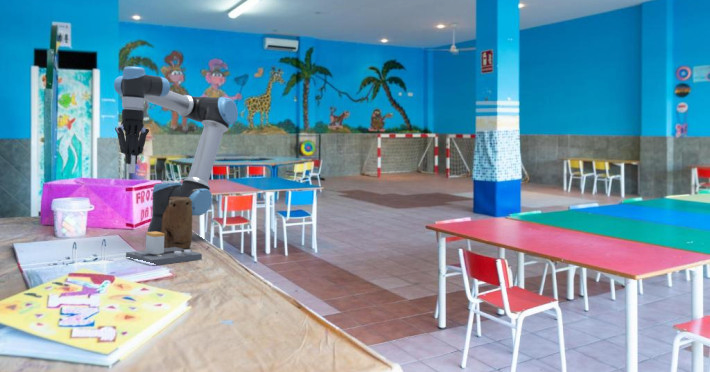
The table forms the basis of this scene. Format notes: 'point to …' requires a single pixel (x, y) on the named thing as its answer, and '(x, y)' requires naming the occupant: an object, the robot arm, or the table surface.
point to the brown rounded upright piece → (177, 223)
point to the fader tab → (155, 242)
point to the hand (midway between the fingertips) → (131, 172)
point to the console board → (166, 256)
